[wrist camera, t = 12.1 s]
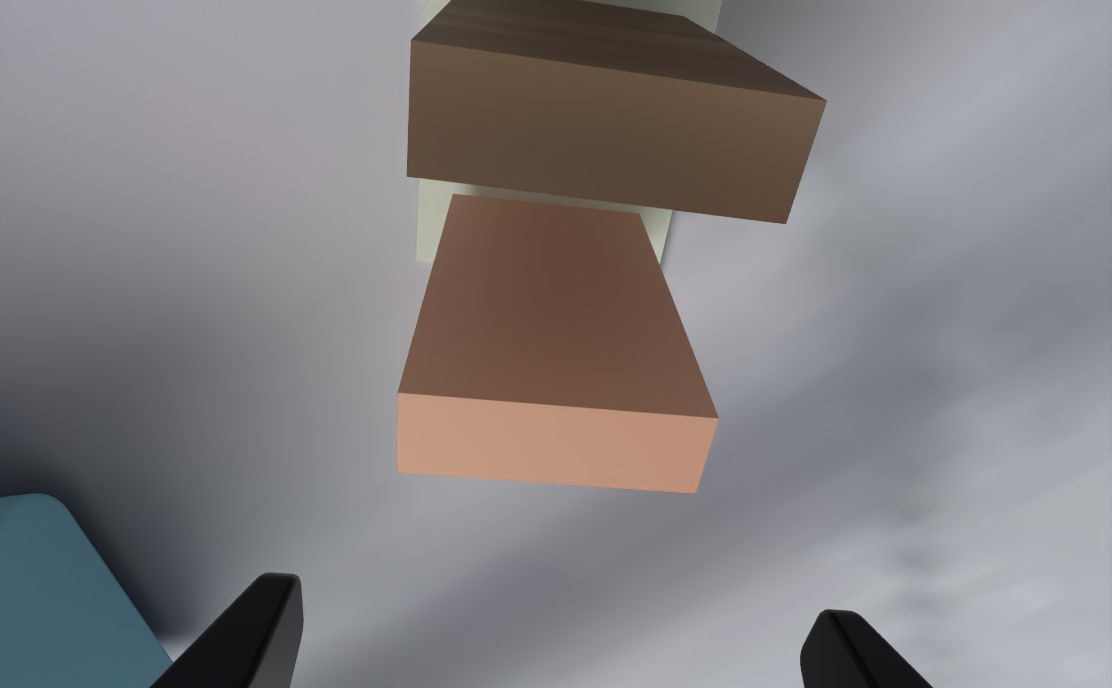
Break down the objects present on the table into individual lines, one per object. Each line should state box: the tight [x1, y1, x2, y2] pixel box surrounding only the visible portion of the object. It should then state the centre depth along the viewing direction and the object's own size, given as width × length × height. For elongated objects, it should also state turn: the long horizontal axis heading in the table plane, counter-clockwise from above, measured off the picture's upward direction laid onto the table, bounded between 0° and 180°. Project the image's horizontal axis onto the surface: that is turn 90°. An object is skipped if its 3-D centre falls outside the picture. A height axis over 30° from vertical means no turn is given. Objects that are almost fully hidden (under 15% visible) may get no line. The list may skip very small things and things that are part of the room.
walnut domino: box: [407, 0, 827, 224], centre depth 12 cm, size 2×5×9 cm, turn 82°
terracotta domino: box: [397, 194, 719, 493], centre depth 15 cm, size 2×5×9 cm, turn 82°
